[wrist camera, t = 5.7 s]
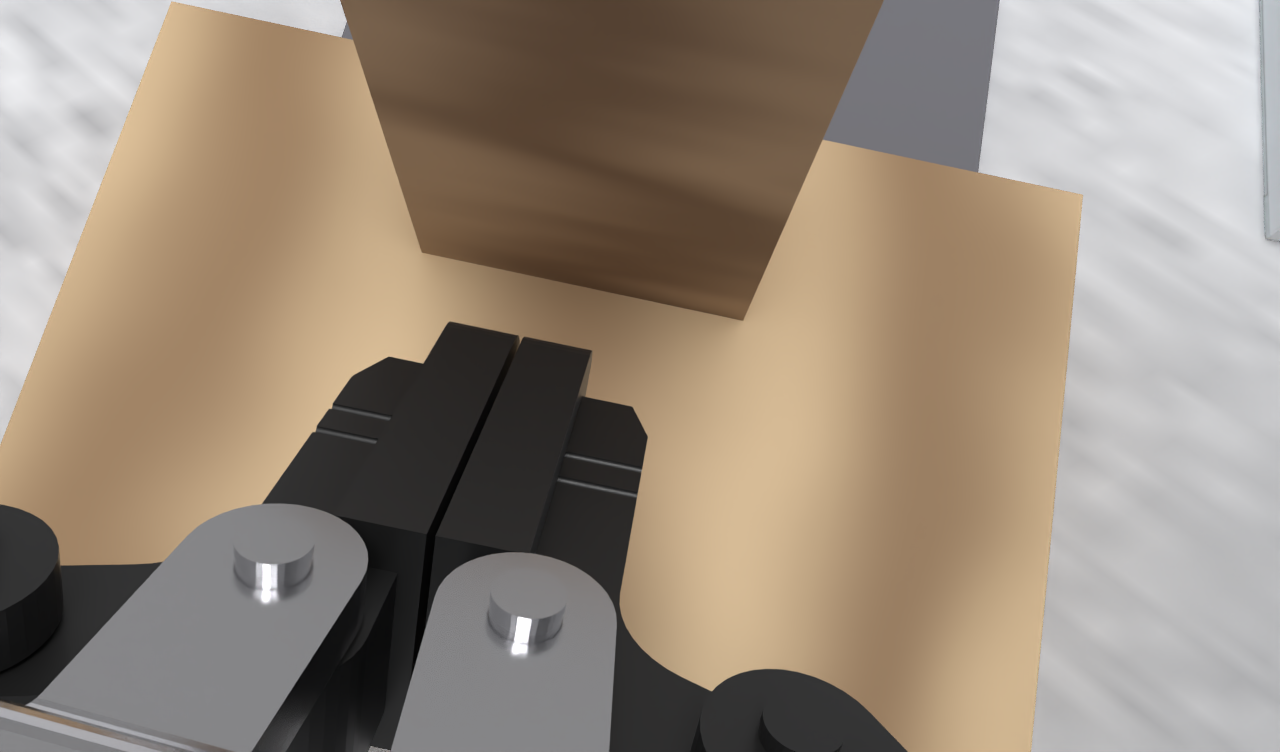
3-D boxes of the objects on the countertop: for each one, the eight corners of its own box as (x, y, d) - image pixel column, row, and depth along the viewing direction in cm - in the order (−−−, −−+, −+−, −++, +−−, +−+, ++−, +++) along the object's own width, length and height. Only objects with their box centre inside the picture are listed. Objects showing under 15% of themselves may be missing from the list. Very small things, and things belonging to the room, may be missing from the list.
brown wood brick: (770, 175, 21) (932, -262, 12) (742, 321, 20) (895, -26, 11) (462, 110, 21) (374, -380, 12) (421, 252, 20) (291, -153, 11)
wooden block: (1005, 272, 25) (1083, 194, 22) (948, 775, 22) (1027, 789, 18) (231, 108, 25) (171, 1, 22) (61, 586, 22) (-45, 560, 18)
